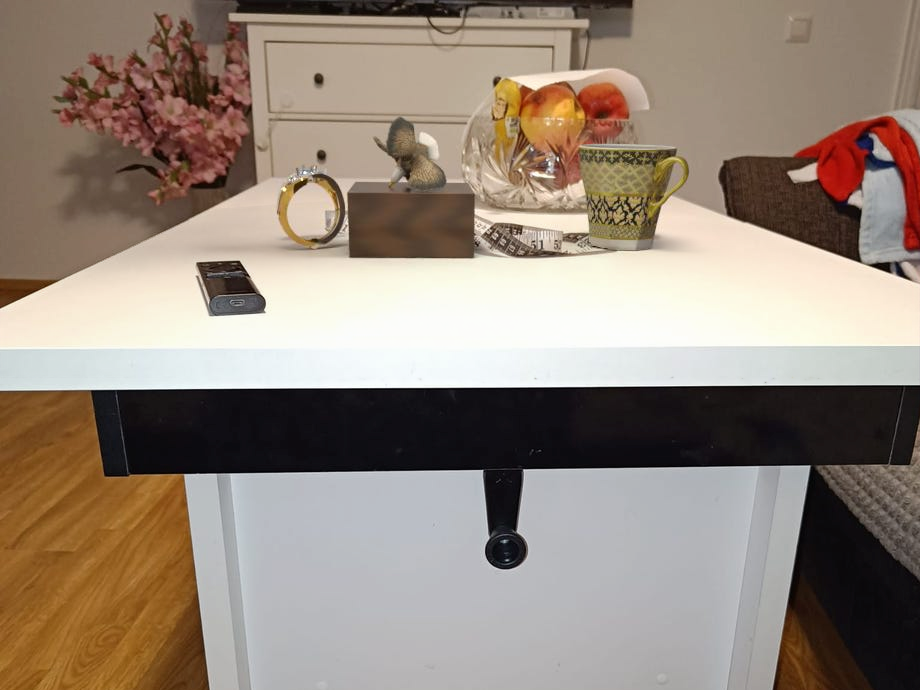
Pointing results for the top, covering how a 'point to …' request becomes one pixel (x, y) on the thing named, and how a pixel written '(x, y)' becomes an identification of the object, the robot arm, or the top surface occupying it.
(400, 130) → the eagle figurine
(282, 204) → the ring
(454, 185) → the walnut block
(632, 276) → the top surface
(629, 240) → the ceramic cup
